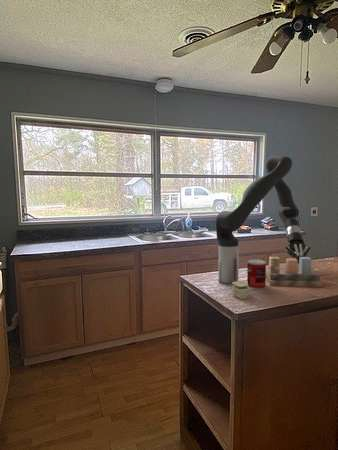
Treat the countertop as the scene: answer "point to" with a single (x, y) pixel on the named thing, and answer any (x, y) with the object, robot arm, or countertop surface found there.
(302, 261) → the slate key
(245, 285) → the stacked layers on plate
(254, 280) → the canned food
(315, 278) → the wooden board with bar
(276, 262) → the maple key
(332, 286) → the countertop surface
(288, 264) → the salmon orange block
